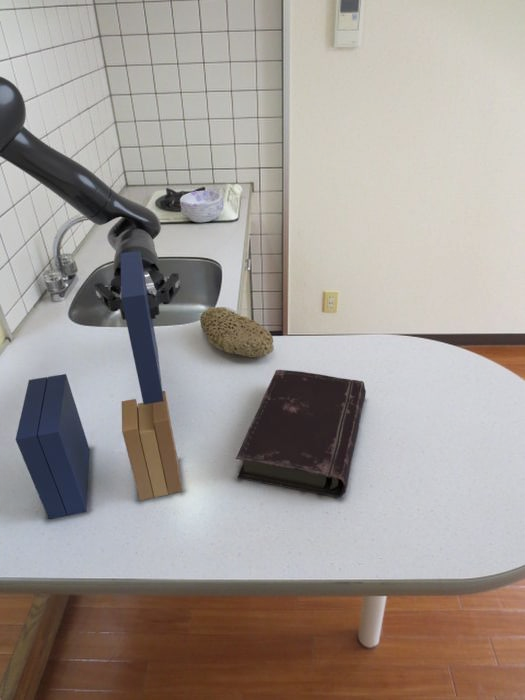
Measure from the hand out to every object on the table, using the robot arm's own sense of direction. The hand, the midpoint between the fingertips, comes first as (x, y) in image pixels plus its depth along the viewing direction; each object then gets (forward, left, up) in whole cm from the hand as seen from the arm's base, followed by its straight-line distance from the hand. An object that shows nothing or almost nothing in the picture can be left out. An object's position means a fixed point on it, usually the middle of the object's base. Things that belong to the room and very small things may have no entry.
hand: (140, 314), depth 76 cm
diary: (+24, -2, -29) cm, 38 cm away
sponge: (+18, +31, -29) cm, 46 cm away
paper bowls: (+22, +116, -29) cm, 122 cm away
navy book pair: (-16, -2, -28) cm, 33 cm away
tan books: (-2, -5, -28) cm, 29 cm away
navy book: (0, -2, -9) cm, 10 cm away
